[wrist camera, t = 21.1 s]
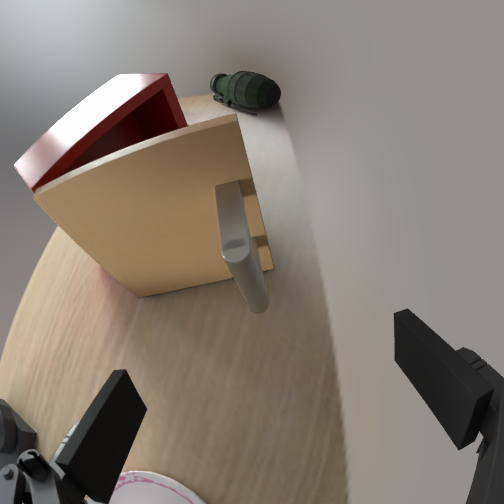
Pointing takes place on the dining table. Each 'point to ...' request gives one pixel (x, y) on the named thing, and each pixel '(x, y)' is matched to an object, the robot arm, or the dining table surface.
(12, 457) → the box
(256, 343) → the dining table surface
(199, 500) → the teacup
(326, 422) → the dining table surface
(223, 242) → the wooden cabinet door
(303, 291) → the dining table surface
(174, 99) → the cabinet
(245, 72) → the grenade
